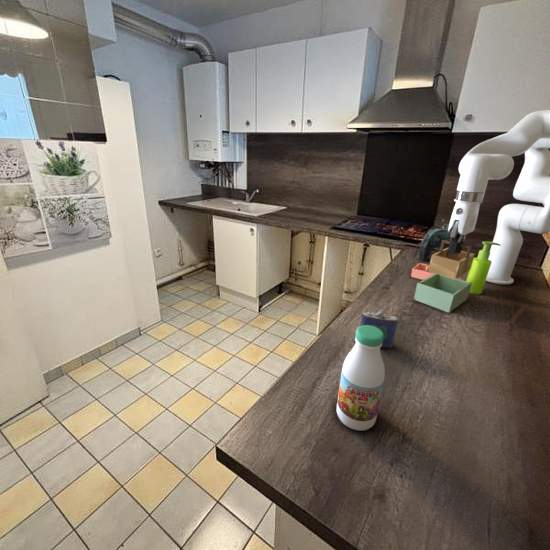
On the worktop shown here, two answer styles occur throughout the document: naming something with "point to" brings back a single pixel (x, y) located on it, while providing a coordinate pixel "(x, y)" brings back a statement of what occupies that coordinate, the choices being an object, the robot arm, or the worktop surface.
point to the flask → (382, 325)
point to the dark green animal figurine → (434, 241)
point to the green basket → (442, 292)
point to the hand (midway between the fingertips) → (454, 252)
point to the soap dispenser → (480, 269)
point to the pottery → (423, 272)
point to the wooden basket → (451, 262)
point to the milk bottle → (362, 380)
